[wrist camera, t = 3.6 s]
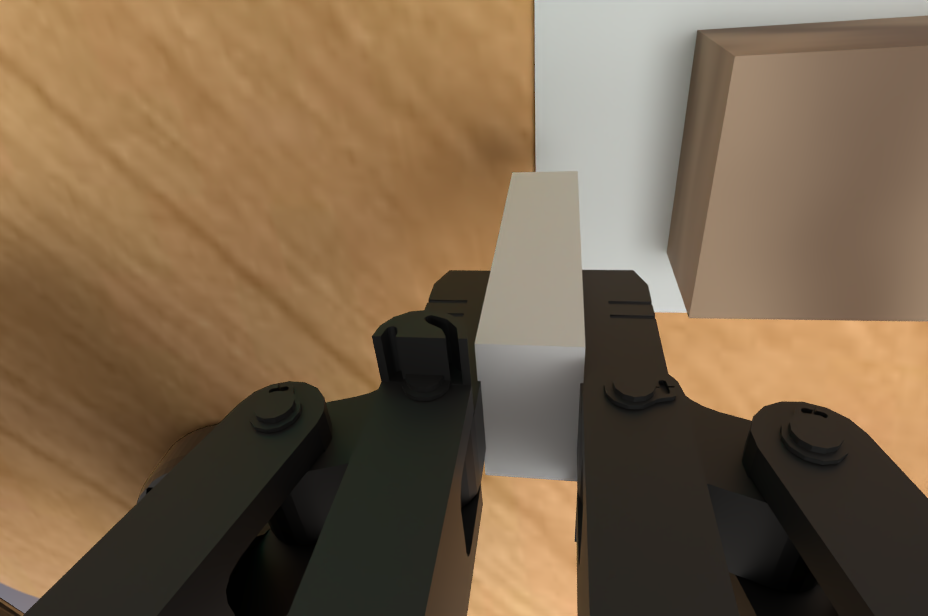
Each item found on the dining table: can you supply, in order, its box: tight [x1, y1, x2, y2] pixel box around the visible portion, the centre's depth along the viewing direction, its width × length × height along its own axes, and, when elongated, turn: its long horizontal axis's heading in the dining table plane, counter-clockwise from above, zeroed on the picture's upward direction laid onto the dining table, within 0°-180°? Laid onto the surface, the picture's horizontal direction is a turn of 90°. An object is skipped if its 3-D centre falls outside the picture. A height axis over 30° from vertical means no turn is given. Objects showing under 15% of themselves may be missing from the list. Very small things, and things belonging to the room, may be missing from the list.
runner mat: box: [534, 0, 928, 313], centre depth 17 cm, size 16×12×1 cm
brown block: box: [667, 16, 928, 321], centre depth 15 cm, size 7×7×4 cm
